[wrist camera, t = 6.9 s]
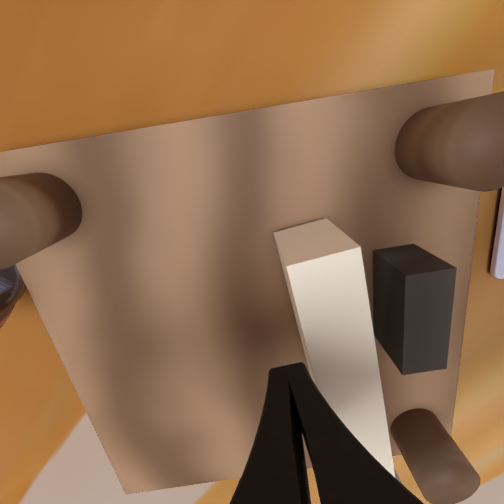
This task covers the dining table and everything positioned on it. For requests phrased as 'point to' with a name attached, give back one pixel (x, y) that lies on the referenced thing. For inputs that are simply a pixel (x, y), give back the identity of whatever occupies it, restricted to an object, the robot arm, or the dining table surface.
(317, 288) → the folding leg
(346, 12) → the dining table surface
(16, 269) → the tin
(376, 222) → the stool seat
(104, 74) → the dining table surface
